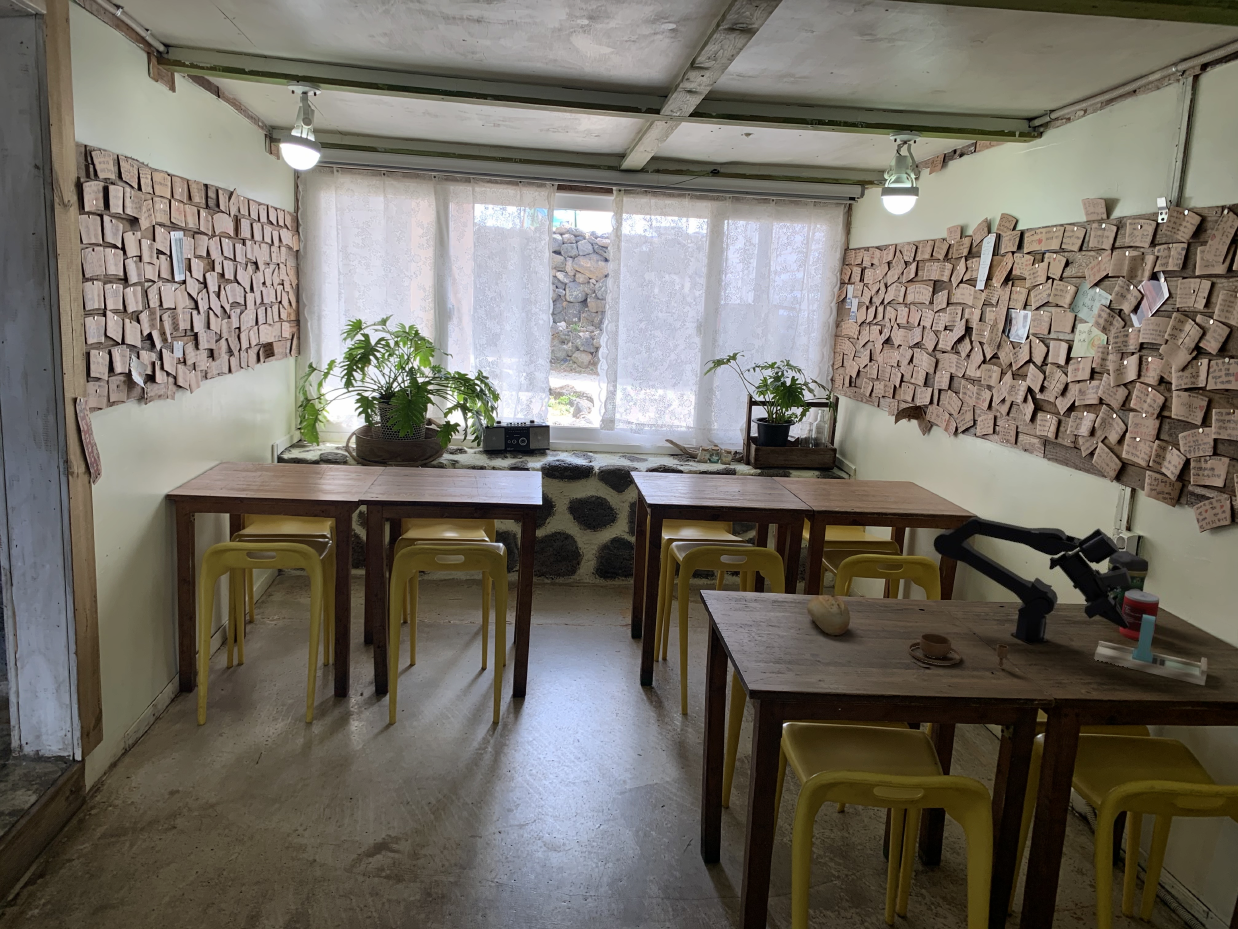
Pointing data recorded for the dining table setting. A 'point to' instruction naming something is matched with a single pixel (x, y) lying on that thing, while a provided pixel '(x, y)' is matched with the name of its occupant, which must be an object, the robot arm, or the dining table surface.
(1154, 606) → the canned food
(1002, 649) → the place setting
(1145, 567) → the coffee jar
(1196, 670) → the box
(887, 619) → the dining table surface
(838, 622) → the bread roll
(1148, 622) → the slider
